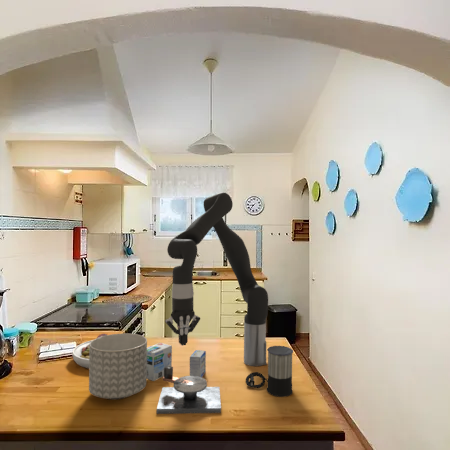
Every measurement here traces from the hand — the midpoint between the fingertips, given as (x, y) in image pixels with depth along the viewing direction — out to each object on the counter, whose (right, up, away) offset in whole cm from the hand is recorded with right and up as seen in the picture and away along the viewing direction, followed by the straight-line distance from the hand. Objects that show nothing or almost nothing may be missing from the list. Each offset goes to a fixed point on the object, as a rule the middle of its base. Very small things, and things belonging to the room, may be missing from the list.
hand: (183, 344), depth 128 cm
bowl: (-36, -17, +30) cm, 50 cm away
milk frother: (+31, -17, +3) cm, 35 cm away
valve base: (+3, -16, -8) cm, 18 cm away
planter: (-22, -16, -3) cm, 28 cm away
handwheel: (+1, -11, -7) cm, 13 cm away
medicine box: (+4, -17, +13) cm, 22 cm away
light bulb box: (-12, -17, +13) cm, 24 cm away
